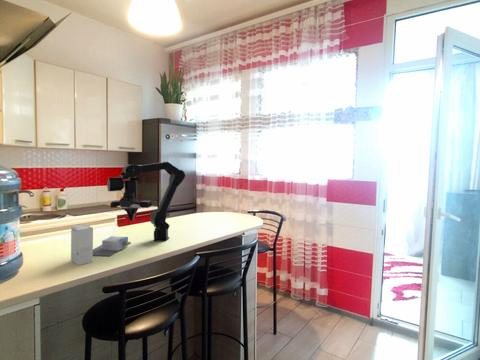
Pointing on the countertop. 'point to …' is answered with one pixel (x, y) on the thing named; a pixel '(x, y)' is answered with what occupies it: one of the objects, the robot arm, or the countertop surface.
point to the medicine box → (114, 243)
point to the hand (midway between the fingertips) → (131, 221)
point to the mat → (104, 251)
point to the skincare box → (81, 244)
